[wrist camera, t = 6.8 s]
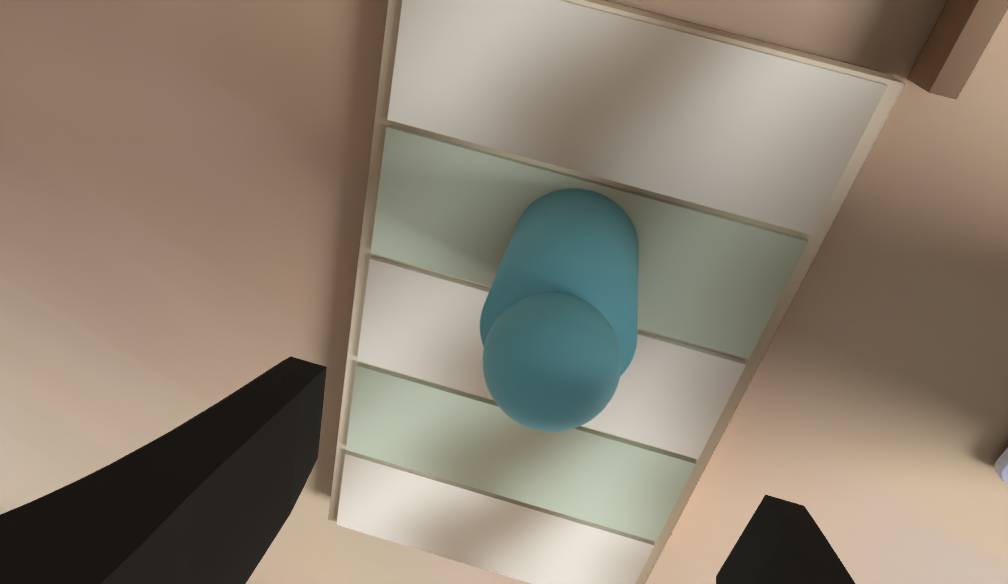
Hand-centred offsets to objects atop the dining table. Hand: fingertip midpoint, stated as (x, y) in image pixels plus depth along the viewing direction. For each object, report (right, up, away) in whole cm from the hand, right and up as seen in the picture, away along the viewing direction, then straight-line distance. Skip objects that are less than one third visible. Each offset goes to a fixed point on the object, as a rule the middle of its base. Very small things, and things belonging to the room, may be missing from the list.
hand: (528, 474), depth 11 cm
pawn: (+2, +4, +7) cm, 9 cm away
